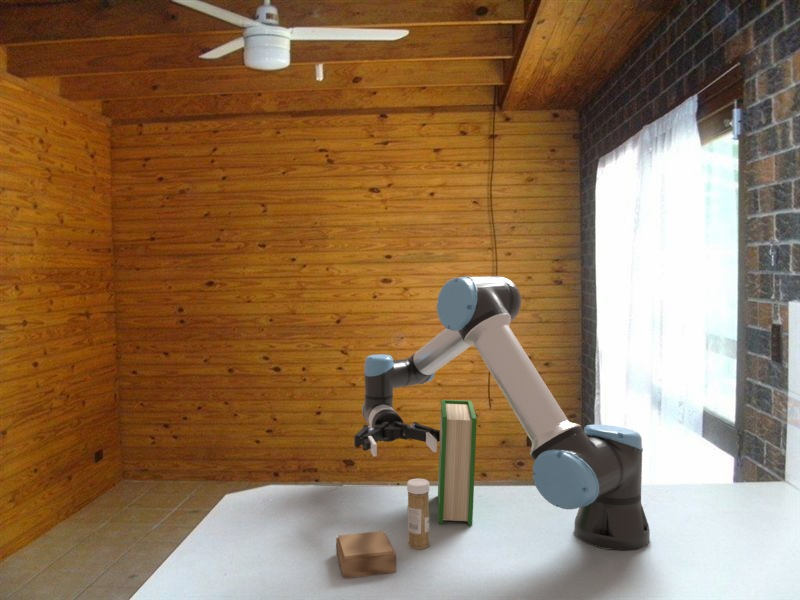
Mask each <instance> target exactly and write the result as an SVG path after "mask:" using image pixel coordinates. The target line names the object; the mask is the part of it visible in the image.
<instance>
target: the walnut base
mask: <svg viewBox="0 0 800 600" xmlns="http://www.w3.org/2000/svg"><path fill="white" fill-rule="evenodd" d="M335 542H336V543H335V546H336V547H335V552H336V553H335V554H336V558H337V561H338V564H339V568H340V572H341V577H342V579H343V580H344V579H350V578H358V577H367V576H368V577H369V576H376V575H386V574H392V573H393V574H394V573H397V553H396V552H395V550H394V547H393V545H392V543H391V542H390V539H389V538H388V536H387V533H386V532H385V531H384V530H380V531H369V532H359V533H350V534H341V535H338V536H337V537H336V538H335Z"/></svg>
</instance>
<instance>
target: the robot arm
mask: <svg viewBox="0 0 800 600" xmlns="http://www.w3.org/2000/svg"><path fill="white" fill-rule="evenodd" d="M521 307H522V296H521V293H520V290H519V287H517V285H516V284H515V283H514V282H513V281H512V280H510V278H507V277H504V276H501V275H489V276H488V275H486V276H467V275H464V276H461V277H454V278H451V279H450V280H448V281H446V283H444V284H443V285H442V287H441V289H440V291H439V293H438V295H437V303H436V311H437V312H436V313H437V317H438V319H439V322H440V323H441V325H442V326H443V327H444V329H443V330H442V331H441V332H439V333H438V334H436V336H434V337H433V338H432V339H431V340H429V341H428V342H427V343H426V344H425V345H423V346H421V347H420V348H419V349H418V350H417V351H415V353H413V354H412V355H409V357H407V358H402V359H395V360H394V358H393V356H391V355H389V354H371V355H368V356H366V358H365V360H364V372H363V373H364V402H363V405H362V409H361V412H362V416H363V418H364V421H365V422H366V423H367V424H363V425H362V428H361V429H360V430H359V431H358V432H356V434H354V437H353V438H354V445H353V446H354V447H355V448H359V447H361V446H362V451H370V454H371V455H372V457H378V444H377V443H378V442H386V443H388V442H389V443H390V442H394V441H396V440H399V439H401V440H406V441H407V440H410V439H411V440H414V441H419V442H424V443H425V445H426V446H427V447H428V448H429V449H430V450H431V451H432V452H433V453H438V442H439V443H440V429H439V430H438V429H436V428H433V427H430V426H428V425H427V426H426V425H424V424H423V425H422V424H420V423H419V422H416V421H414V422H413V421H412V425H410V424H406V423H404V420H403V419H402V417H401V416H400V414H399V413H397V411H396V410H394V407H393V406H394V402H393V401H394V400H393V399H394V389H398V388H399V389H400V388H405V387H411V386H416V385H417V386H418V385H423V384H426V383H429V382H431V381H432V380H433V379H434V377H435V375H436V372H437V371H439V370H440V369H442V368H443V367H444V366H445V365H447V364H449V363H450V362H451V361H453V360H454V359H456V357H458V356H460V355H461V354H462V353H463V352H465V351H466V350H468V349H469V348H470V347H474V348H476V350H477V352H478V353H479V355H480V357H481V358H482V360H483V362H484V364H485V365H486V368H487V369H488V370H489V373H490V374H491V376H492V378H493V379H494V381H495V382H496V385H497V386H498V387H499V389H500V391H501V393H502V395H503V396H504V397H505V399H506V401H507V402H508V405H509V406H510V408H511V409H512V411H513V413H514V414H515V416H516V418H517V419H518V421H519V423H520V425H521V426H522V428H523V430H524V431H525V433H526V434H527V436H528V438H529V439H530V441H531V449H530V452H529V454H530V456H531V458H532V459H533V460H534V463H533V465H532V471H533V474H532V479H533V482H534V485H535V487H536V489H537V491H538V493H539V494H540V495H541V496H542V498H543V499H544V500H545V501H547V503H549V504H550V505H552V506H555V507H556V508H557V507H558V508H560V509H563V510H577V509H578V511H577V513H576V516H575V519H574V534H575V535H576V537H577V538H578V539H580V540H581V541H582V542H584V543H587V544H589V545H592V546H594V547H599V548H602V549H607V550H614V551H615V550H616V551H631V550H638V549H641V548H643V547H645V546H646V547H647V545H648V544H649V543H650V539H651V538H650V537H651V536H650V534H651V533H650V526H649V523H648V519H647V517H646V516H647V515H646V513H645V510H644V507H643V504H642V478H643V477H642V475H643V474H642V473H643V451H644V449H643V441H642V436H641V434H640V433H639V432H637V431H635V430H633V429H629V428H626V427H620V426H616V425H607V424H588V425H586V426H585V427H584V428H582V426H581V424H578V423H574V422H572V421H570V420H569V419H568V418H567V415H566V414H565V413H564V411H563V410H562V408H561V406H560V405H559V403H558V402H557V400H556V398H555V397H554V395H553V393H552V392H551V390H550V388H548V386H547V385H546V383H545V381H544V379H543V378H542V376H541V375H540V373H539V372H538V370H537V368H536V367H535V366H534V363H533V362H532V360H531V359H530V358H529V356H528V355H527V353H526V351H525V349H524V348H523V347H522V345H521V343H520V341H519V340H518V338H517V337H516V335H515V334H514V332H513V330H512V329H511V327H510V324H511V323H512V322H513V321H514V320H515V319H516V318H517V316H518V315H519V313H520V310H521Z"/></svg>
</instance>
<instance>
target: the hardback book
mask: <svg viewBox="0 0 800 600" xmlns="http://www.w3.org/2000/svg"><path fill="white" fill-rule="evenodd" d="M440 403H441V404H440V422H439V423H440V428H439V431H440V441H439V451H438V454H439V455H438V456H439V457H438V476H437V477H438V479H437V506H438V507H437V510H438V511H437V512H438V525H443V524H444V521H457V522H467V526H469V525H472V526H473V522H474V521H473V517H474V516H473V514H474V494H475V493H474V492H475V491H474V488H475V473H476V472H475V469H476V448H477V447H476V444H477V421H478V418H477V415H476V412H475V409H474V404H473V401H472V400H464V399H463V400H461V399H460V400H458V399H440Z"/></svg>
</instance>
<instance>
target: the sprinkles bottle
mask: <svg viewBox="0 0 800 600" xmlns="http://www.w3.org/2000/svg"><path fill="white" fill-rule="evenodd" d="M406 487H407V488H406V491H407V496H408V497H407V530H408V541H407V542H408V543H407V545H408V547H409V548H411V549H413V550H425V549H427V548H429V547H430V543H431V542H430V508H429V507H430V505H429V504H430V503H429V493H430V481H429V480H428V479H425V478H418V477H417V478H412V479H409V480H407V483H406Z"/></svg>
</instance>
